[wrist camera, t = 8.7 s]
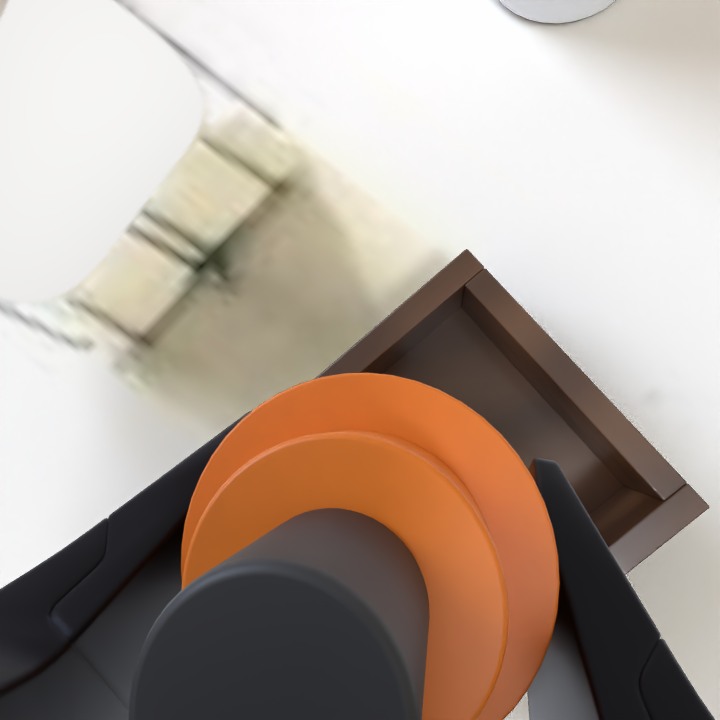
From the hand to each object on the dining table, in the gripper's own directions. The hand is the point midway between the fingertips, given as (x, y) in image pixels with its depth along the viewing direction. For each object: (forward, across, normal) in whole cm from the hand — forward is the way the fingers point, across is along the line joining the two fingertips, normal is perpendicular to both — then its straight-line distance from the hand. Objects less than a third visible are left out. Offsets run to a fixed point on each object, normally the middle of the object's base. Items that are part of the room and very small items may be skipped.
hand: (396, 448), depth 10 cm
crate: (+9, -1, +10) cm, 14 cm away
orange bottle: (+4, 0, +6) cm, 7 cm away
